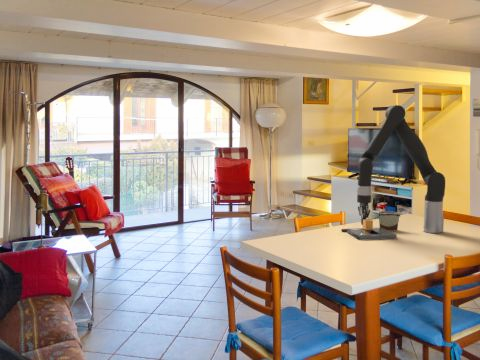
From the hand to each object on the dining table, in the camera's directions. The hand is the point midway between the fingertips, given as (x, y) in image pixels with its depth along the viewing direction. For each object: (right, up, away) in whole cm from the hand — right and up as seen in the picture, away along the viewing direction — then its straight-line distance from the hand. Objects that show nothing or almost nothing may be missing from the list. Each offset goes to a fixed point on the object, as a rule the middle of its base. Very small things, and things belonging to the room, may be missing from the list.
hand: (363, 224), depth 263 cm
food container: (+15, -3, +4) cm, 15 cm away
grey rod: (-7, -4, -1) cm, 8 cm away
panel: (+1, -5, -11) cm, 12 cm away
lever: (+1, -4, -6) cm, 7 cm away
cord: (-9, -5, -12) cm, 15 cm away
